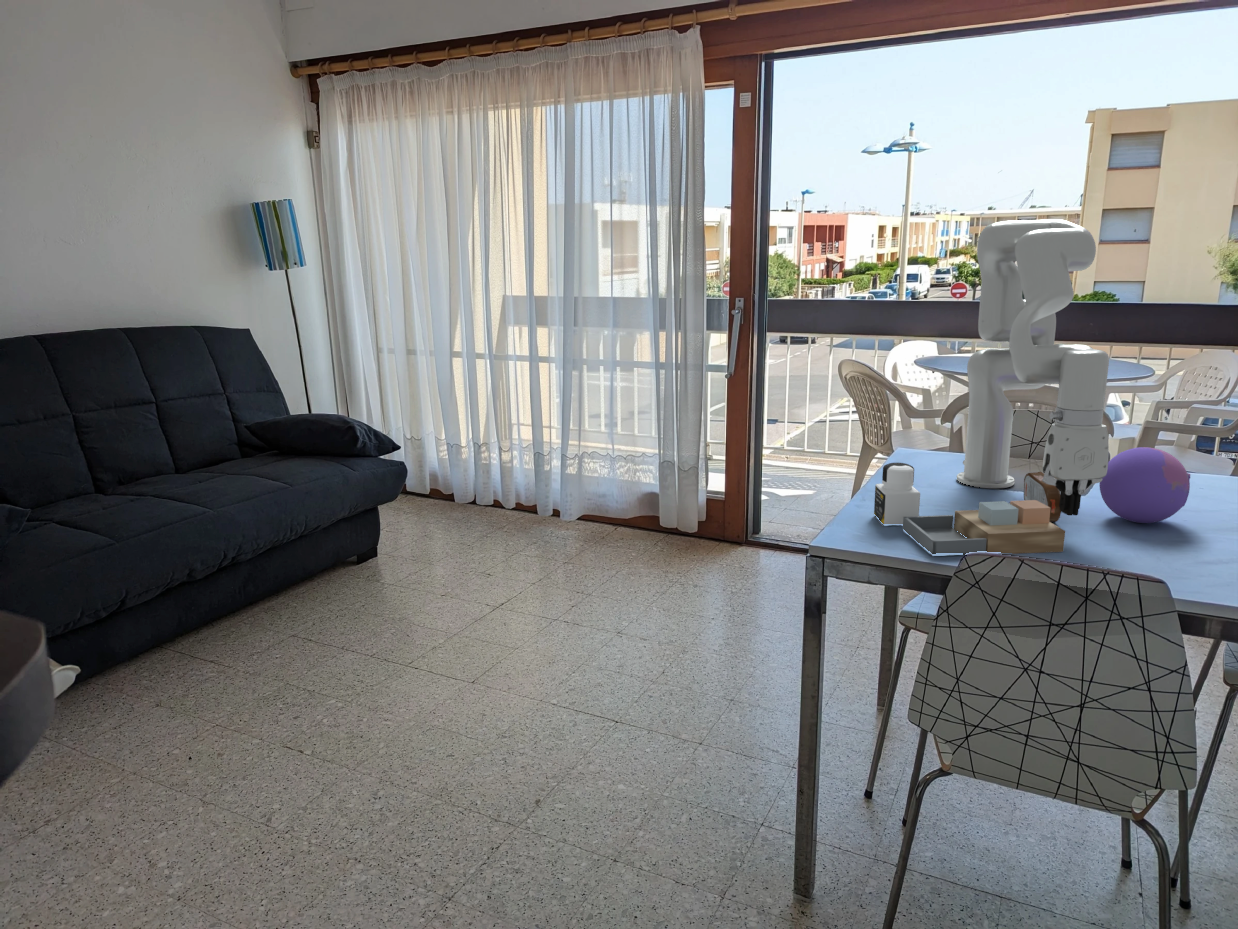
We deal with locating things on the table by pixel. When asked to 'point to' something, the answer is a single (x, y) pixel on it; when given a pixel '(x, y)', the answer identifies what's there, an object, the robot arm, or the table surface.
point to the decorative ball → (1145, 485)
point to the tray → (941, 535)
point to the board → (1010, 534)
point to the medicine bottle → (896, 494)
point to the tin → (1042, 493)
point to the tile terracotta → (1032, 511)
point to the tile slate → (998, 513)
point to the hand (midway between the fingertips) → (1068, 513)
